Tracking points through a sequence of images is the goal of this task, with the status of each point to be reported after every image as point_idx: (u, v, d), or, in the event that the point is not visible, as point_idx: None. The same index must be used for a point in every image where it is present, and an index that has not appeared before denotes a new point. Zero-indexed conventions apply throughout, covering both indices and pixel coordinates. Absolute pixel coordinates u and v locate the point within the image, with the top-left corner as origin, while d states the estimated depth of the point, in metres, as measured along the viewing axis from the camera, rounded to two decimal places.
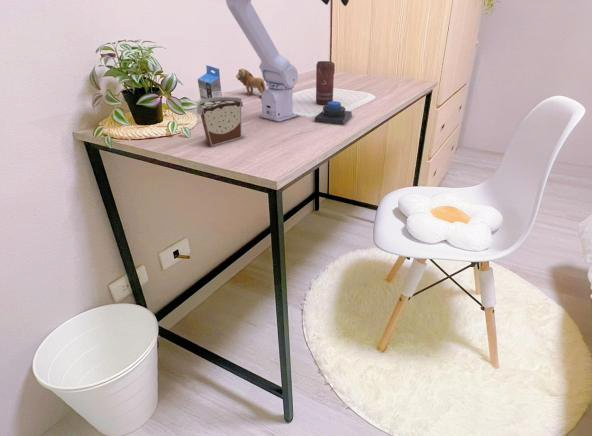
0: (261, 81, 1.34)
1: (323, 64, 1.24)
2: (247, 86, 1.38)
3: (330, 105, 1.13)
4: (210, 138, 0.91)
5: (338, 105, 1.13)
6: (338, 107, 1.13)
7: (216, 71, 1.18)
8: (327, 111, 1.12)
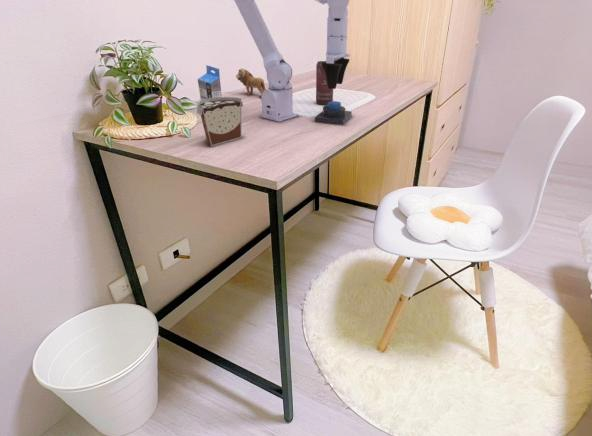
0: (261, 81, 1.34)
1: None
2: (247, 86, 1.38)
3: (330, 105, 1.13)
4: (210, 138, 0.91)
5: (338, 105, 1.13)
6: (338, 107, 1.13)
7: (216, 71, 1.18)
8: (327, 111, 1.12)
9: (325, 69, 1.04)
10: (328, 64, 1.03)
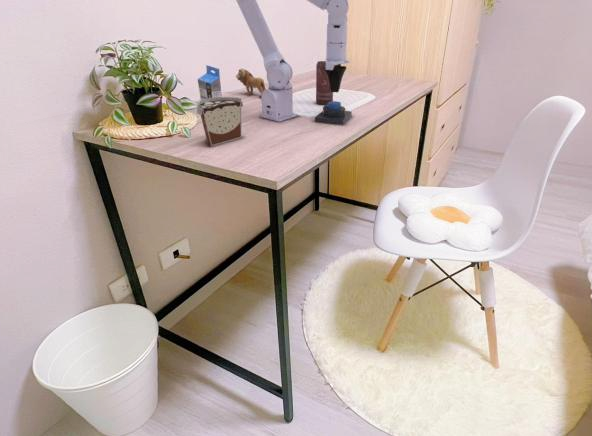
0: (261, 81, 1.34)
1: (323, 64, 1.24)
2: (247, 86, 1.38)
3: (330, 105, 1.13)
4: (210, 138, 0.91)
5: (338, 105, 1.13)
6: (338, 107, 1.13)
7: (216, 71, 1.18)
8: (327, 111, 1.12)
9: (328, 73, 1.08)
10: None
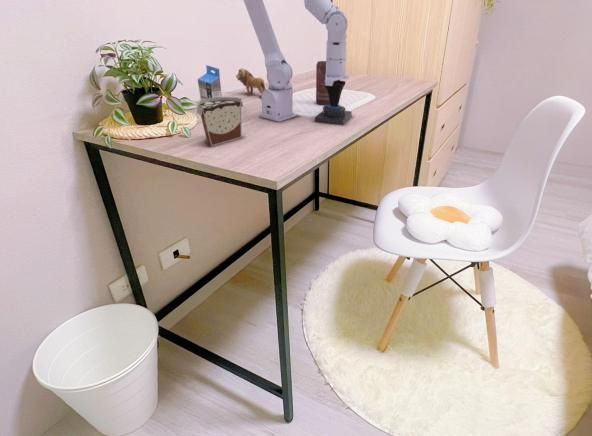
0: (261, 81, 1.34)
1: (323, 64, 1.24)
2: (247, 86, 1.38)
3: (330, 108, 1.13)
4: (210, 138, 0.91)
5: (338, 108, 1.13)
6: None
7: (216, 71, 1.18)
8: (327, 111, 1.12)
9: (327, 88, 1.10)
10: None
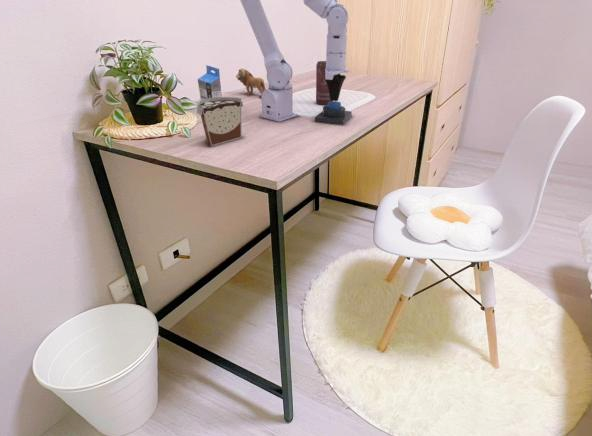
0: (261, 81, 1.34)
1: (323, 64, 1.24)
2: (247, 86, 1.38)
3: (330, 105, 1.13)
4: (210, 138, 0.91)
5: (338, 105, 1.13)
6: (338, 107, 1.13)
7: (216, 71, 1.18)
8: (327, 111, 1.12)
9: (327, 82, 1.09)
10: None
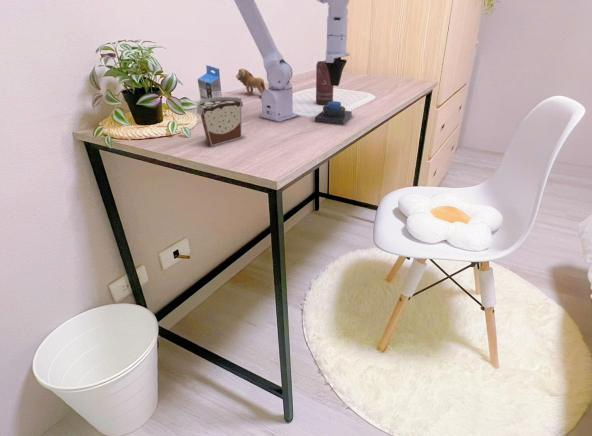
0: (261, 81, 1.34)
1: (323, 64, 1.24)
2: (247, 86, 1.38)
3: (330, 105, 1.13)
4: (210, 138, 0.91)
5: (338, 105, 1.13)
6: (338, 107, 1.13)
7: (216, 71, 1.18)
8: (327, 111, 1.12)
9: (328, 66, 1.07)
10: None
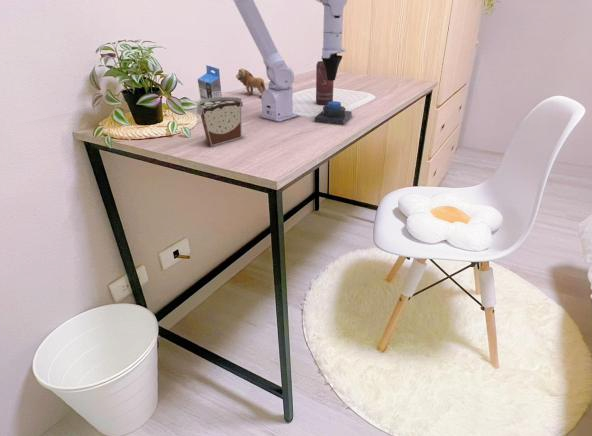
0: (261, 81, 1.34)
1: (323, 64, 1.24)
2: (247, 86, 1.38)
3: (330, 105, 1.13)
4: (210, 138, 0.91)
5: (338, 105, 1.13)
6: (338, 107, 1.13)
7: (216, 71, 1.18)
8: (327, 111, 1.12)
9: (325, 62, 1.13)
10: (327, 57, 1.12)
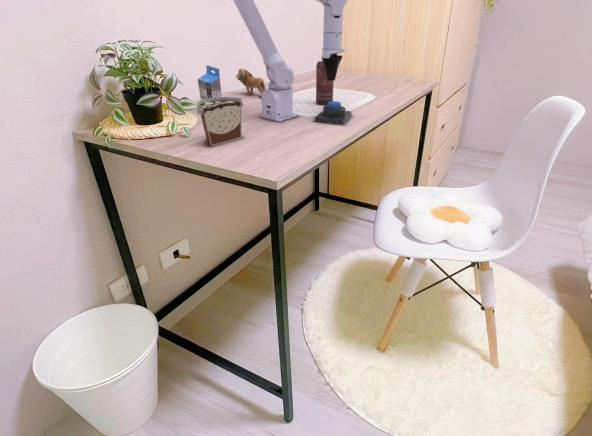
0: (261, 81, 1.34)
1: (323, 64, 1.24)
2: (247, 86, 1.38)
3: (330, 105, 1.13)
4: (210, 138, 0.91)
5: (338, 105, 1.13)
6: (338, 107, 1.13)
7: (216, 71, 1.18)
8: (327, 111, 1.12)
9: (325, 62, 1.13)
10: (327, 57, 1.12)
